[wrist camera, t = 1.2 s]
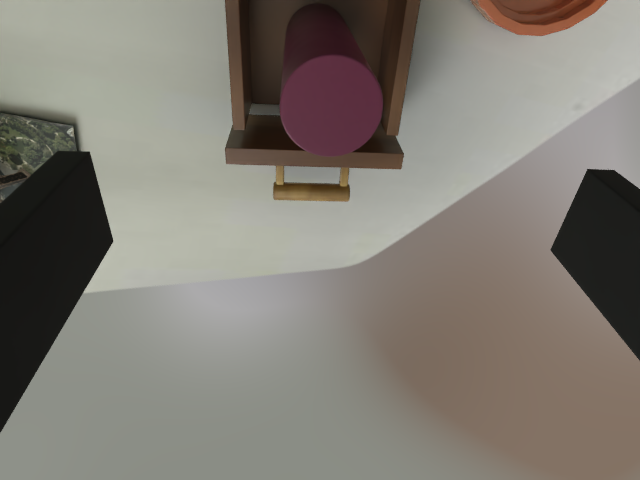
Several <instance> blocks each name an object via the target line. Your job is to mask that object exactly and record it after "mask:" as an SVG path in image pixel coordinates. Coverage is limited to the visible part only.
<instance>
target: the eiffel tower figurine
mask: <svg viewBox="0 0 640 480" xmlns="http://www.w3.org/2000/svg"><path fill="white" fill-rule="evenodd" d="M57 151H77V149H76V143H75V136H74V130H73V126H71V125H65V124H59V123H53V122H48V121H43V120H38V119H33V118H27V117H22V116H17V115H11V114H5V113H0V203H1V202H2V201H3V200H4V199H5V198H7V197H8V196H9V195H10V194H11V193H12V192H13V191H14V190H15V189H16V188H17V187H19V186H20V185H21V184H22V183H23V182H24V181H25V180H26V179H27V178H28V177H30V176H31V175H32V174H33V173H34V172H35V171H36V170H37V169H38V168H39V167H40V166H42V165H43V164H44V163H45V162H46V161H47V160H48V159H49V158H50V157H51V156H52V155H54V154H55V153H56V152H57Z"/></svg>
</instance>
